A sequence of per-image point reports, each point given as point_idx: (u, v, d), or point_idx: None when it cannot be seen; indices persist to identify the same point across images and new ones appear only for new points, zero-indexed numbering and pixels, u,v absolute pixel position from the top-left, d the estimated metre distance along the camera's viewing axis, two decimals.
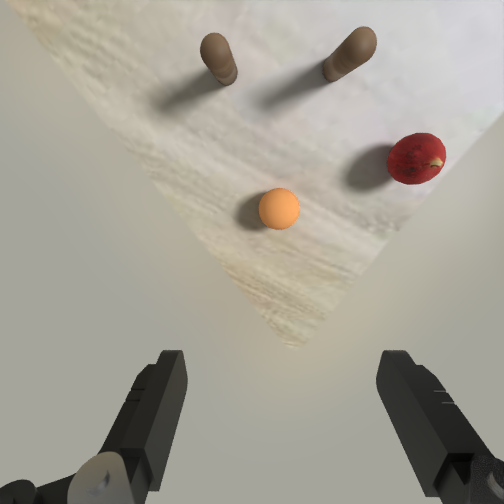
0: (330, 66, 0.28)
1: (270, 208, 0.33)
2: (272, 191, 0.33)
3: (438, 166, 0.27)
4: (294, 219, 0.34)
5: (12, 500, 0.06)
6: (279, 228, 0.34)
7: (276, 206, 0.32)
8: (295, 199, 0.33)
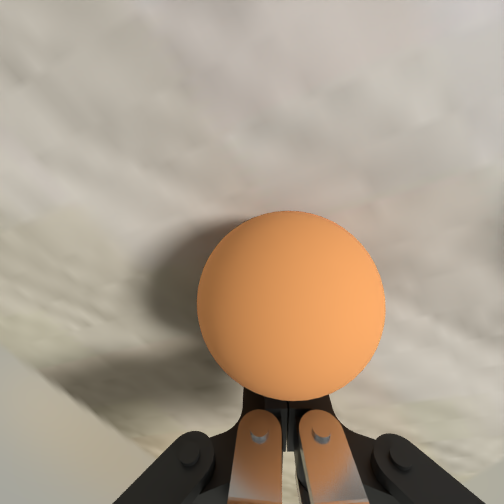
0: None
1: (242, 269, 0.06)
2: (255, 217, 0.08)
3: None
4: (374, 339, 0.06)
5: (198, 452, 0.07)
6: (295, 393, 0.06)
7: (273, 255, 0.06)
8: (360, 244, 0.07)
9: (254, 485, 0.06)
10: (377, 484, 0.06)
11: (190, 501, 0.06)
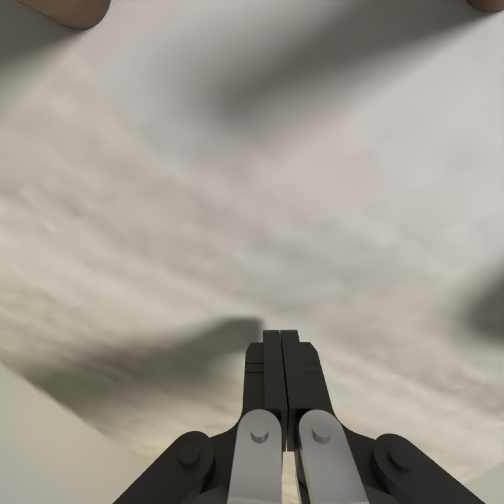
0: None
1: None
2: None
3: None
4: None
5: (198, 452, 0.07)
6: None
7: None
8: None
9: (254, 485, 0.06)
10: (377, 484, 0.06)
11: (190, 501, 0.06)
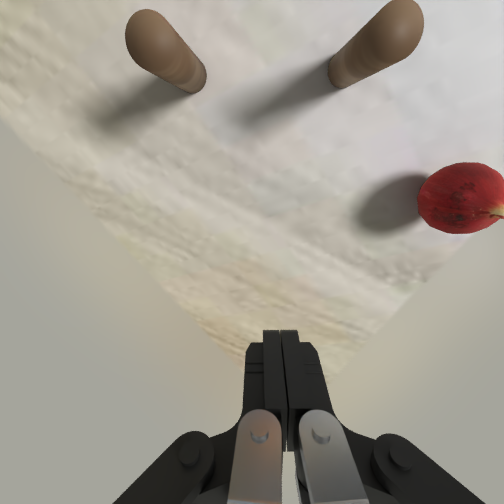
0: (340, 66, 0.18)
1: None
2: None
3: (502, 216, 0.18)
4: None
5: (198, 452, 0.07)
6: None
7: None
8: None
9: (254, 485, 0.06)
10: (377, 484, 0.06)
11: (190, 501, 0.06)
